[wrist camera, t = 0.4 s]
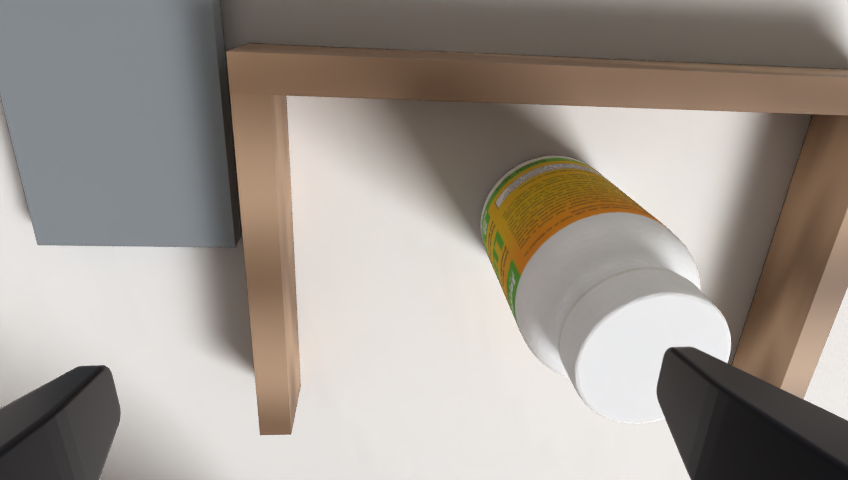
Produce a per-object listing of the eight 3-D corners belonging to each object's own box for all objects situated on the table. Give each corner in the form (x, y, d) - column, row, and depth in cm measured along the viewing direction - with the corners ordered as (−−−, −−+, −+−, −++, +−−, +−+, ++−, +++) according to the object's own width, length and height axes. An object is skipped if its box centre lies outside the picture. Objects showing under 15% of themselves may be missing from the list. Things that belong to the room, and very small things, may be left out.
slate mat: (241, 236, 22) (235, 247, 21) (52, 234, 21) (37, 245, 20) (215, -51, 18) (206, -53, 17) (-18, -65, 17) (-41, -68, 16)
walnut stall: (750, 381, 27) (792, 425, 24) (273, 386, 25) (260, 435, 22) (857, 69, 21) (929, 81, 18) (247, 43, 19) (226, 51, 16)
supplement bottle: (454, 197, 22) (506, 336, 13) (577, 126, 21) (722, 221, 12) (515, 298, 24) (596, 477, 15) (629, 236, 23) (786, 387, 14)
